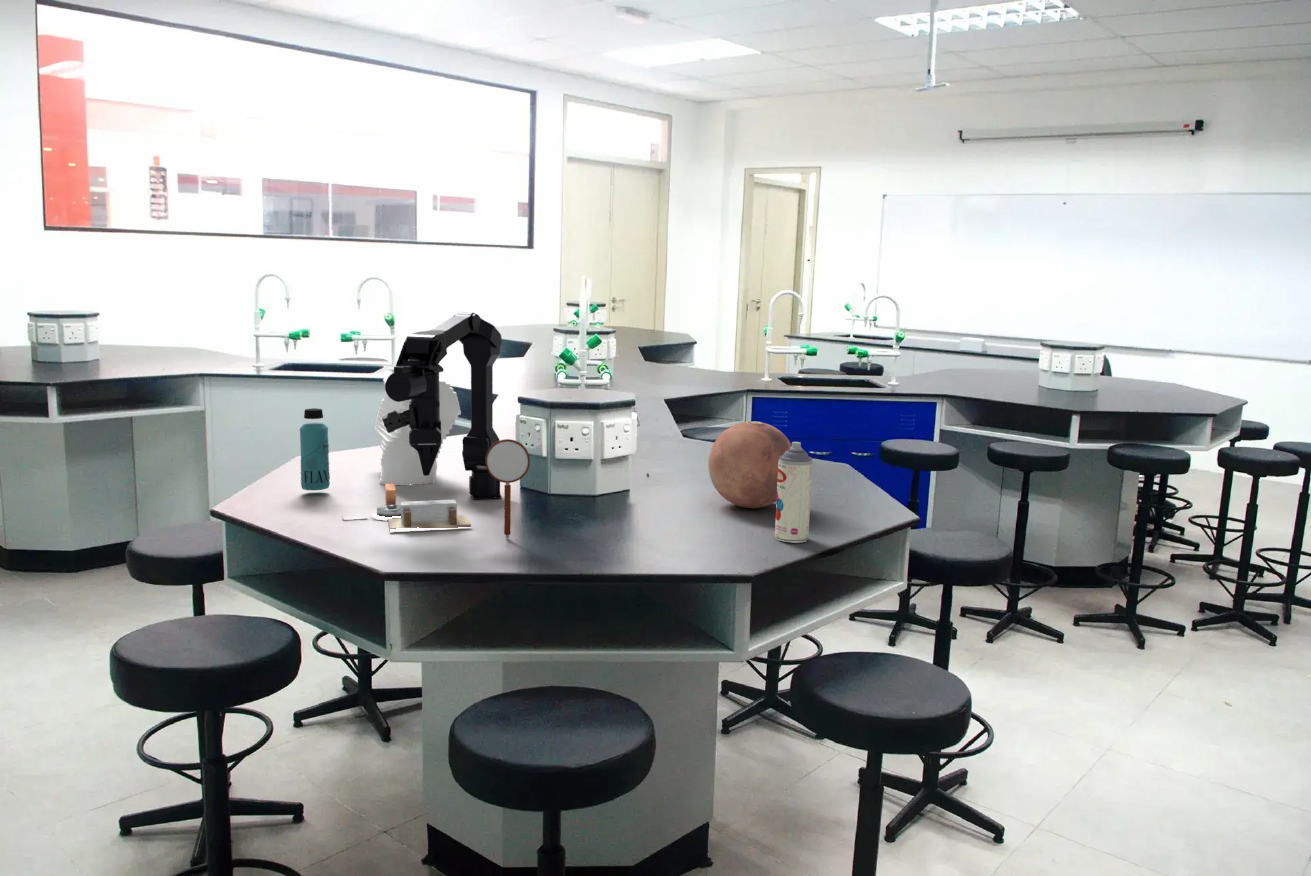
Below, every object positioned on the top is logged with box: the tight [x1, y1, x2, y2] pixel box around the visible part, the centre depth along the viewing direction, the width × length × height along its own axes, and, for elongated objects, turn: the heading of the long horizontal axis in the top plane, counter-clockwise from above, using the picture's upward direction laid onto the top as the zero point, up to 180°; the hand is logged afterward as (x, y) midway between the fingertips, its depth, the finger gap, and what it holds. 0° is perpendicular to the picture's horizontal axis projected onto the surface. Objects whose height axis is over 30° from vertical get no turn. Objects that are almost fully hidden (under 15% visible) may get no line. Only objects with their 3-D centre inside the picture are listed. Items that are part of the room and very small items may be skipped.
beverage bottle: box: [299, 408, 331, 491], centre depth 221 cm, size 6×7×20 cm
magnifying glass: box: [485, 438, 531, 539], centre depth 187 cm, size 9×2×20 cm, turn 94°
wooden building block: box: [376, 483, 401, 517], centre depth 207 cm, size 6×13×4 cm, turn 18°
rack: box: [387, 509, 472, 529], centre depth 197 cm, size 16×8×4 cm, turn 108°
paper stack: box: [373, 376, 462, 486], centre depth 242 cm, size 21×27×26 cm
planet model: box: [708, 420, 792, 509], centre depth 220 cm, size 20×20×20 cm
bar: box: [399, 499, 458, 525], centre depth 196 cm, size 11×3×4 cm, turn 108°
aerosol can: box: [774, 441, 813, 541], centre depth 193 cm, size 7×7×20 cm
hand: (426, 470), depth 198 cm, fingers open, 9 cm apart
